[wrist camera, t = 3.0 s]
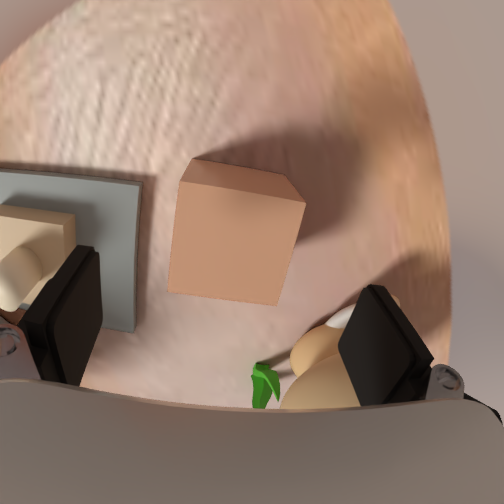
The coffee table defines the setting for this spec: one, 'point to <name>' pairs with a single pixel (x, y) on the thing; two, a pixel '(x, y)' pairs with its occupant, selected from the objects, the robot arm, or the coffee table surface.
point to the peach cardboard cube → (233, 233)
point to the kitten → (312, 371)
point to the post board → (93, 228)
